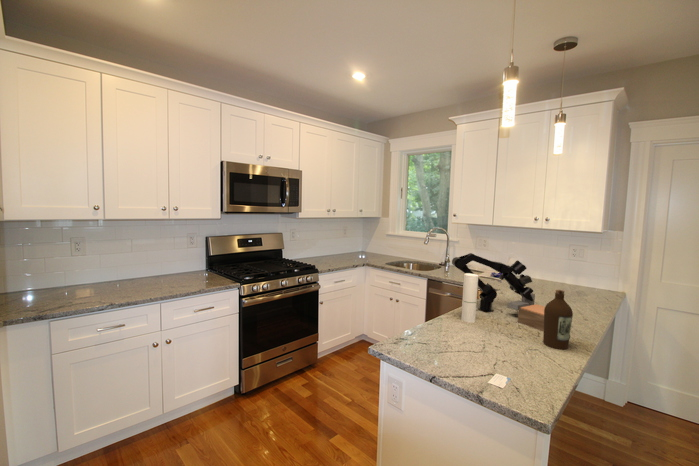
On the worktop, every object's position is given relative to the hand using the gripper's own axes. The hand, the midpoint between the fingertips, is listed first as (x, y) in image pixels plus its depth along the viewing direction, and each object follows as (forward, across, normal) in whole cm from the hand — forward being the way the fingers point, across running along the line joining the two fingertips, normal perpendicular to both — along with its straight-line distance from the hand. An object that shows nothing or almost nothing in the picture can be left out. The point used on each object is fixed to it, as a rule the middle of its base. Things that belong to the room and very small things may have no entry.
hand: (530, 299), depth 187 cm
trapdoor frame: (+3, -19, +8) cm, 21 cm away
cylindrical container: (-23, -20, +35) cm, 46 cm away
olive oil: (-2, -46, +13) cm, 48 cm away
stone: (+1, 0, +3) cm, 3 cm away
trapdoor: (-2, -15, +6) cm, 17 cm away
